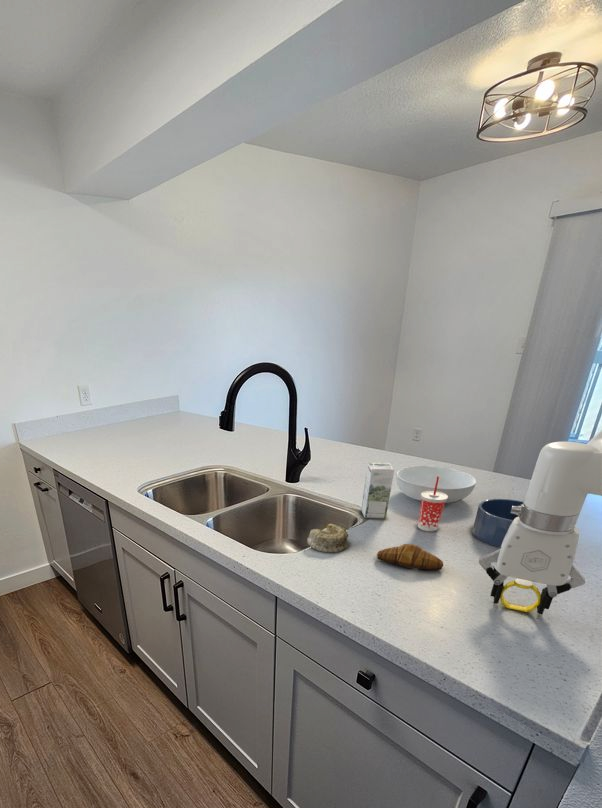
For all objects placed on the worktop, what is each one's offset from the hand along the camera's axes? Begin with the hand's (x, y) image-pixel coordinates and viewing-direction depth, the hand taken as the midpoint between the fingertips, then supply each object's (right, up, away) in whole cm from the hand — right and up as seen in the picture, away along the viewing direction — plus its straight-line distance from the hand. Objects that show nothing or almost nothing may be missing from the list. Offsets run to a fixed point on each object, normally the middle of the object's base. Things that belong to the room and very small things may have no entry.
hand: (517, 604), depth 81 cm
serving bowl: (+10, +25, +49) cm, 56 cm away
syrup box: (-10, +19, +41) cm, 46 cm away
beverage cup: (0, +15, +32) cm, 36 cm away
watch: (0, -1, +1) cm, 1 cm away
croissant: (-12, +6, +16) cm, 22 cm away
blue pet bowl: (+16, +13, +26) cm, 33 cm away
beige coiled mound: (-27, +11, +27) cm, 40 cm away
